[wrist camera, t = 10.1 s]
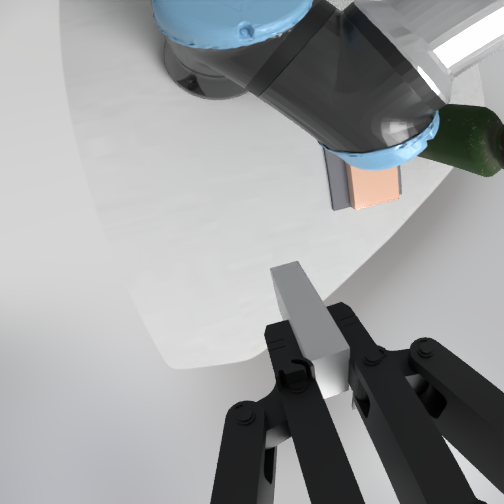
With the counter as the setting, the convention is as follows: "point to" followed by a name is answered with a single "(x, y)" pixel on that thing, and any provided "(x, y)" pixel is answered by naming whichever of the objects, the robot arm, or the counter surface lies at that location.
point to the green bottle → (468, 140)
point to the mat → (342, 180)
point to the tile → (371, 186)
